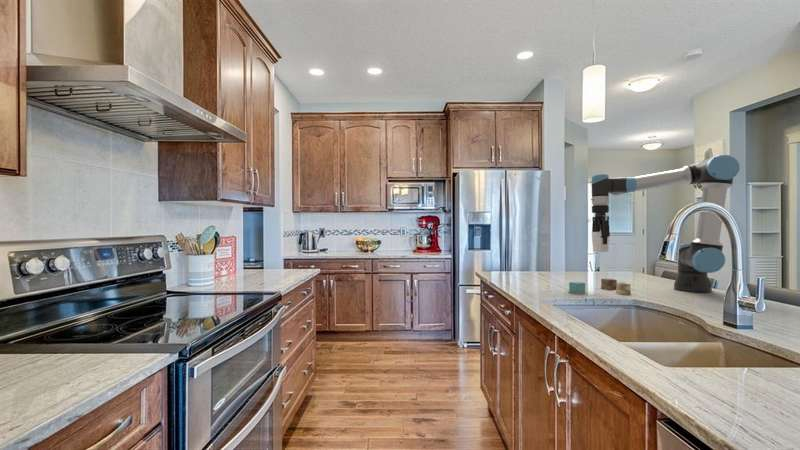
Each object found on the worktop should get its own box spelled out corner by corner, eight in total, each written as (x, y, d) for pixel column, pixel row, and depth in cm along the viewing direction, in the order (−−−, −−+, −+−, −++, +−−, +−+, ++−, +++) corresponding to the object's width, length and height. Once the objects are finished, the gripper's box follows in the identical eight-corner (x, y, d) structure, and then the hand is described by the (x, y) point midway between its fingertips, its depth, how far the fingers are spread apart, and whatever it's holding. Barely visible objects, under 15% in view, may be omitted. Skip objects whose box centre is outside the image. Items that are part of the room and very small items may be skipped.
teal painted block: (577, 291, 188) (577, 281, 188) (585, 293, 183) (585, 282, 183) (569, 292, 186) (569, 282, 186) (577, 294, 181) (577, 283, 181)
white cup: (612, 251, 189) (612, 231, 189) (604, 252, 185) (604, 232, 185) (597, 251, 196) (596, 231, 196) (588, 251, 191) (588, 232, 191)
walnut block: (610, 288, 197) (610, 278, 197) (616, 289, 192) (616, 279, 192) (601, 288, 197) (601, 278, 197) (607, 289, 192) (607, 280, 192)
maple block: (628, 292, 183) (628, 282, 183) (630, 294, 178) (630, 284, 178) (616, 292, 185) (616, 282, 185) (618, 294, 180) (618, 283, 180)
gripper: (584, 206, 201) (585, 249, 201) (601, 204, 181) (601, 251, 180) (599, 205, 200) (599, 249, 200) (617, 203, 180) (618, 251, 180)
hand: (600, 250), depth 190 cm, fingers closed on white cup, 7 cm apart
